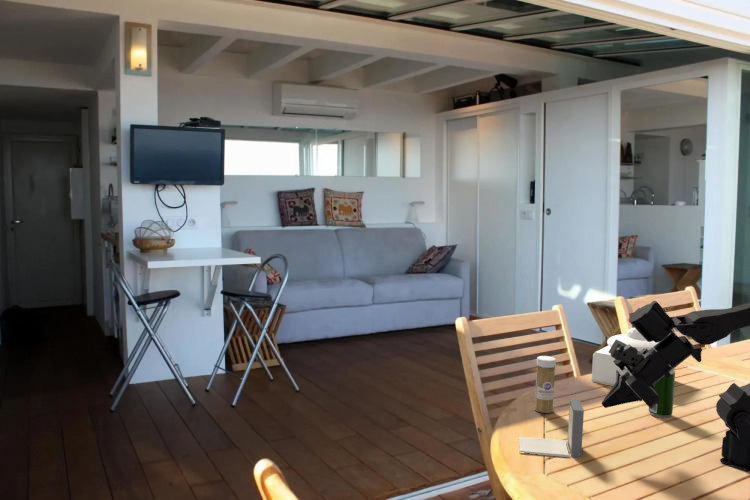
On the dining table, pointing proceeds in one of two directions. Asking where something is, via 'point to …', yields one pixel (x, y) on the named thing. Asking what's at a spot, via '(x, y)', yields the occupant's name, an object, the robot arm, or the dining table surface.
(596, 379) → the butter dish
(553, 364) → the sprinkles bottle
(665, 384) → the beer can
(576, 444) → the slate tile
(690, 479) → the dining table surface
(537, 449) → the plate
